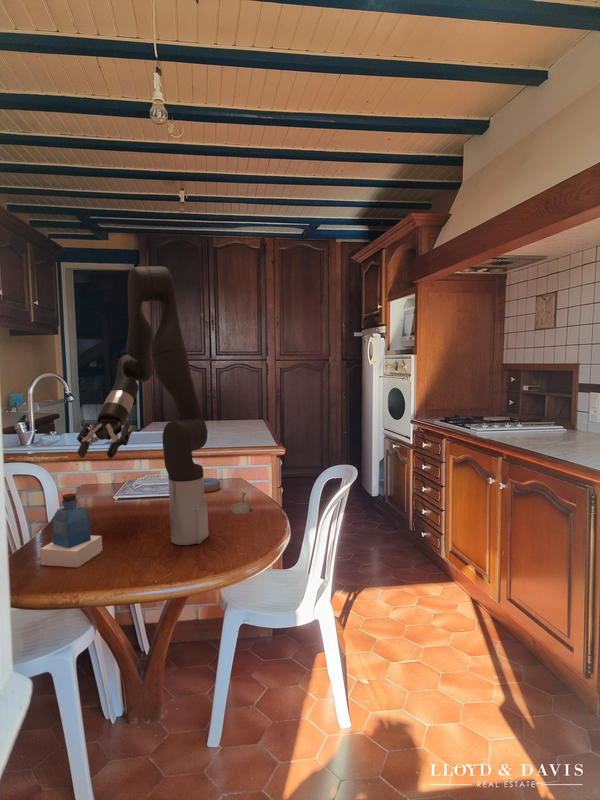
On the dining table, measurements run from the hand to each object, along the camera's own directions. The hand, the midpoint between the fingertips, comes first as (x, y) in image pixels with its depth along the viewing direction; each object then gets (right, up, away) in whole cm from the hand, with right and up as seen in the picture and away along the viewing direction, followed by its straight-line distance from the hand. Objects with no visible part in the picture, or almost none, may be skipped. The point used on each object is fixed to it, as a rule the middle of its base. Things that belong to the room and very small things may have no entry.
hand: (94, 456), depth 132 cm
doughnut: (+20, -19, +52) cm, 59 cm away
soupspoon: (+36, -21, +34) cm, 53 cm away
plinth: (-2, -24, -9) cm, 26 cm away
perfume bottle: (-2, -21, -9) cm, 23 cm away
